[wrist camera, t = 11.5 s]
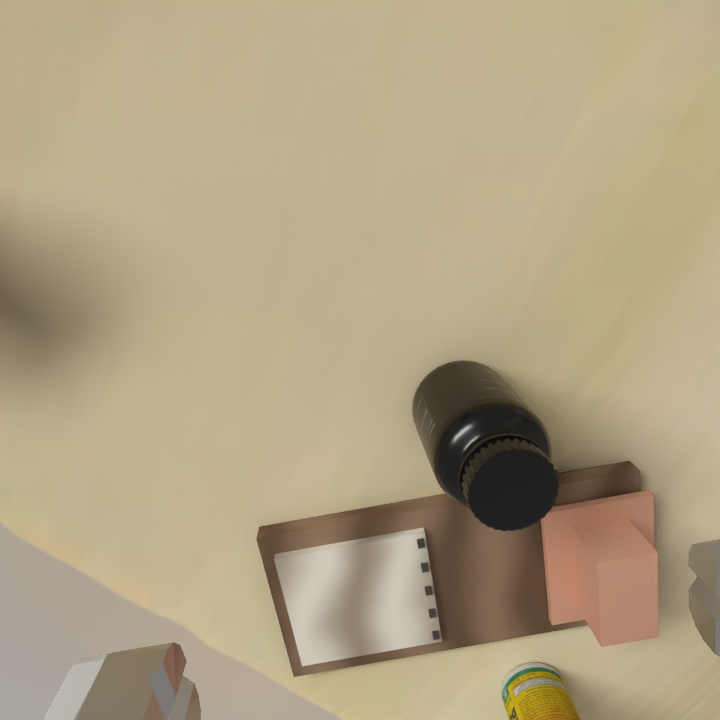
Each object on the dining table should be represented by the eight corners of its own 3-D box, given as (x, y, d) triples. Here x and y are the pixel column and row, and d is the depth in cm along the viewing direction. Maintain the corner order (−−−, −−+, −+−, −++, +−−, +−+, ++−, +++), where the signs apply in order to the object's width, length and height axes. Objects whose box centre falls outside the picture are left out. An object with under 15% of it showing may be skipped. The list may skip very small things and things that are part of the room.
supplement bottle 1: (469, 463, 41) (523, 571, 29) (392, 417, 39) (417, 513, 28) (526, 388, 39) (606, 472, 28) (448, 338, 38) (499, 405, 26)
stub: (649, 489, 40) (688, 527, 36) (650, 601, 43) (687, 648, 39) (539, 509, 40) (565, 549, 36) (549, 619, 43) (573, 668, 39)
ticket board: (629, 460, 41) (645, 476, 39) (633, 601, 45) (648, 622, 43) (259, 527, 41) (255, 545, 39) (295, 661, 45) (293, 685, 43)
